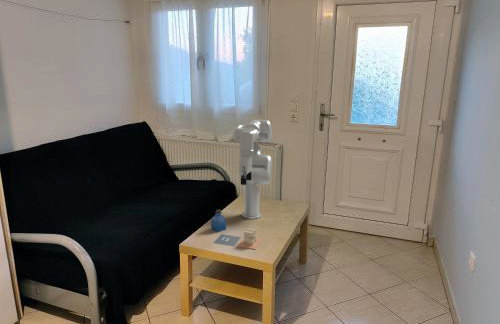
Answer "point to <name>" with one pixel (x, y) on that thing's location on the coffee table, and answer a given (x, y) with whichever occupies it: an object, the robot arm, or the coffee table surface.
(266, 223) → the coffee table surface
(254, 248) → the pad
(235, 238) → the gray tile
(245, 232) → the maple block
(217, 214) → the perfume bottle
